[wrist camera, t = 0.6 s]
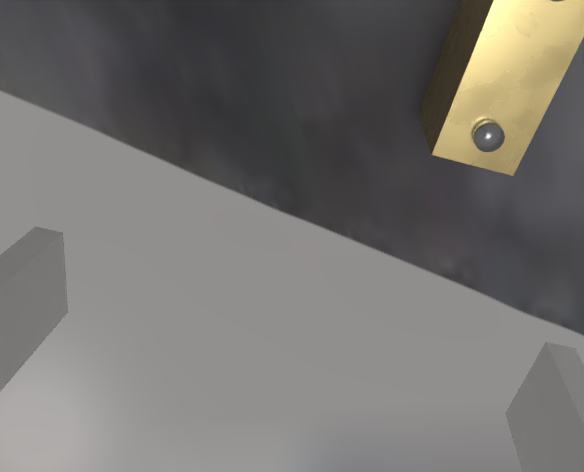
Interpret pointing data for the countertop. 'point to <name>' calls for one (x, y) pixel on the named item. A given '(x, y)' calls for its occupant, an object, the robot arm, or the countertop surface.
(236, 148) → the countertop surface
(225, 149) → the countertop surface
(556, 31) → the gold studded block
